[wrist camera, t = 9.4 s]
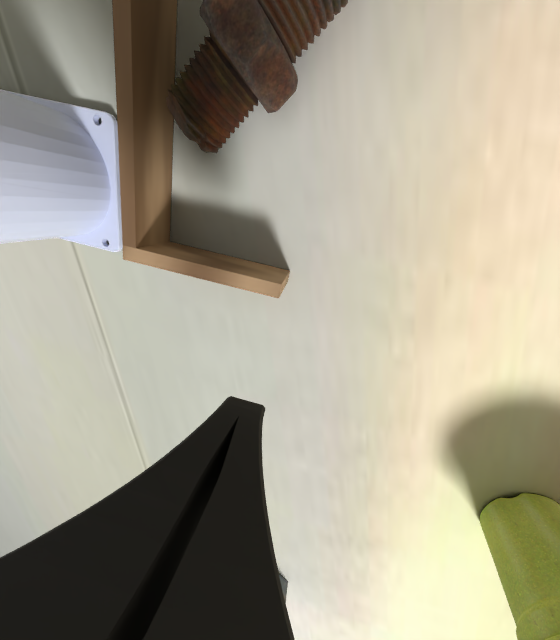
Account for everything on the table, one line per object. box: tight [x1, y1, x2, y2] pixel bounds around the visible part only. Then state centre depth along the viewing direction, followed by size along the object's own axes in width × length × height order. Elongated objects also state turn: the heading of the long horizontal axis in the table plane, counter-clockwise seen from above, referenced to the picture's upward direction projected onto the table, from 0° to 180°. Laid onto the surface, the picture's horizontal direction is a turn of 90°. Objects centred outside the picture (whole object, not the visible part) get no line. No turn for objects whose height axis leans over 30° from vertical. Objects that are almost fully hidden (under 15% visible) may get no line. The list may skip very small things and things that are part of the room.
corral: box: [112, 0, 290, 298], centre depth 12 cm, size 9×21×4 cm, turn 168°
